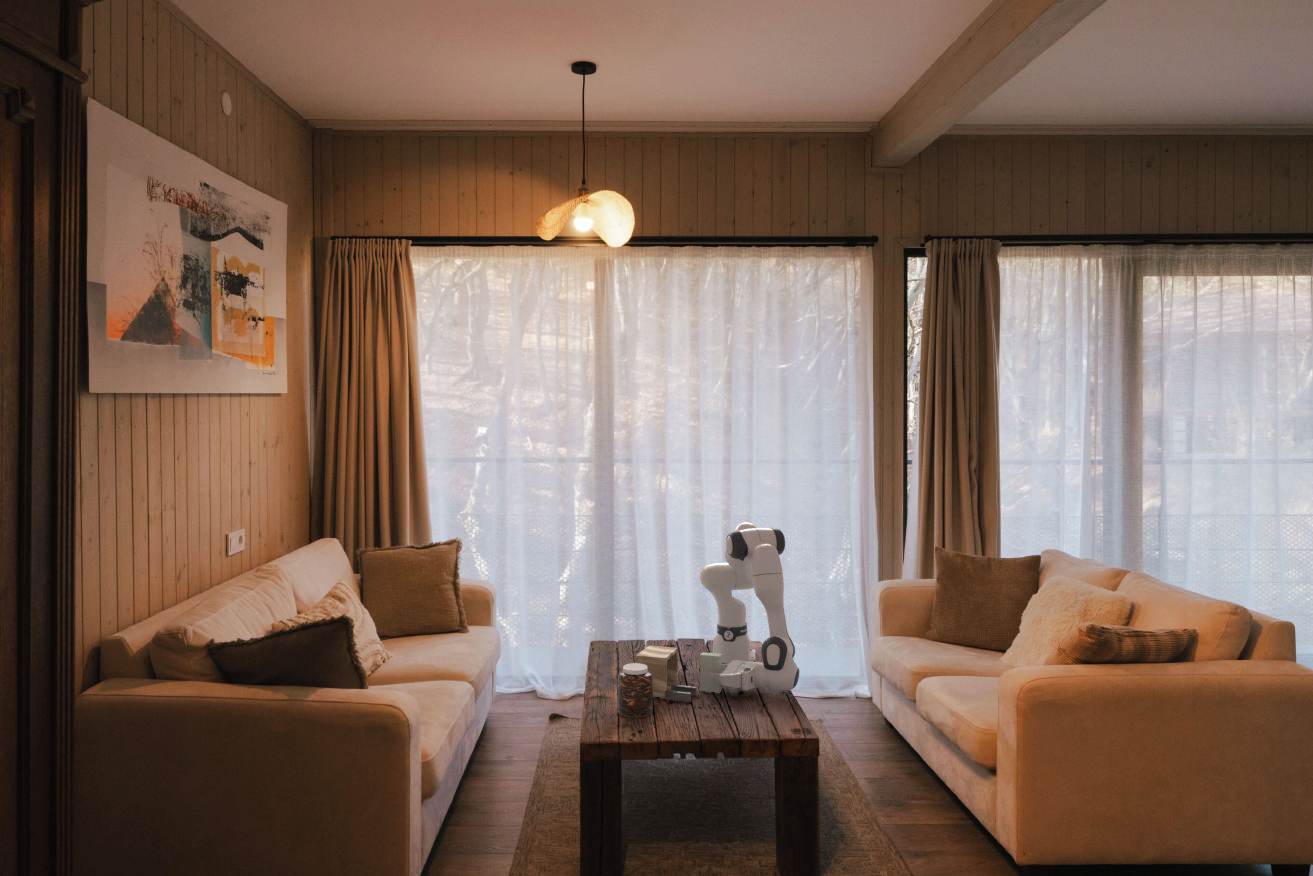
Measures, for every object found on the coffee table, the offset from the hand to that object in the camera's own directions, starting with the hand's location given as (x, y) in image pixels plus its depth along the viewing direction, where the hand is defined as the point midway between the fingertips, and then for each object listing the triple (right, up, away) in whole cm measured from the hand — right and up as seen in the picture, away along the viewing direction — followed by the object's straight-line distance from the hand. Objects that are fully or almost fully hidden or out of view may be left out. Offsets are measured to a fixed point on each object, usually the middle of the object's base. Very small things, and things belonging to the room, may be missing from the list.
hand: (713, 670), depth 297 cm
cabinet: (-20, -7, 0) cm, 21 cm away
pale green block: (-1, -7, 0) cm, 7 cm away
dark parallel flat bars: (-12, -7, -7) cm, 15 cm away
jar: (-27, -8, -22) cm, 35 cm away
